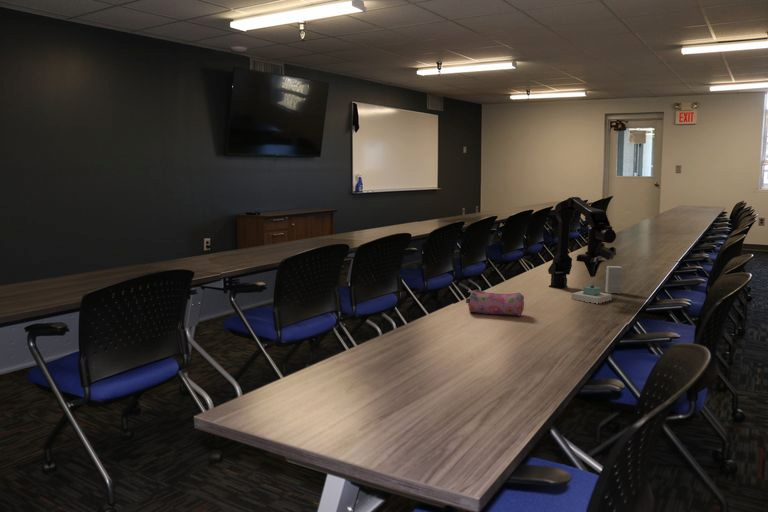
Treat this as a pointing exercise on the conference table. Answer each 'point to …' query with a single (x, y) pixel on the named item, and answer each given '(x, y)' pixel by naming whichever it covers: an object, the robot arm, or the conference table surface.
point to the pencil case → (495, 303)
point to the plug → (591, 290)
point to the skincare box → (613, 279)
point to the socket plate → (591, 297)
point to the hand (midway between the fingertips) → (592, 276)
